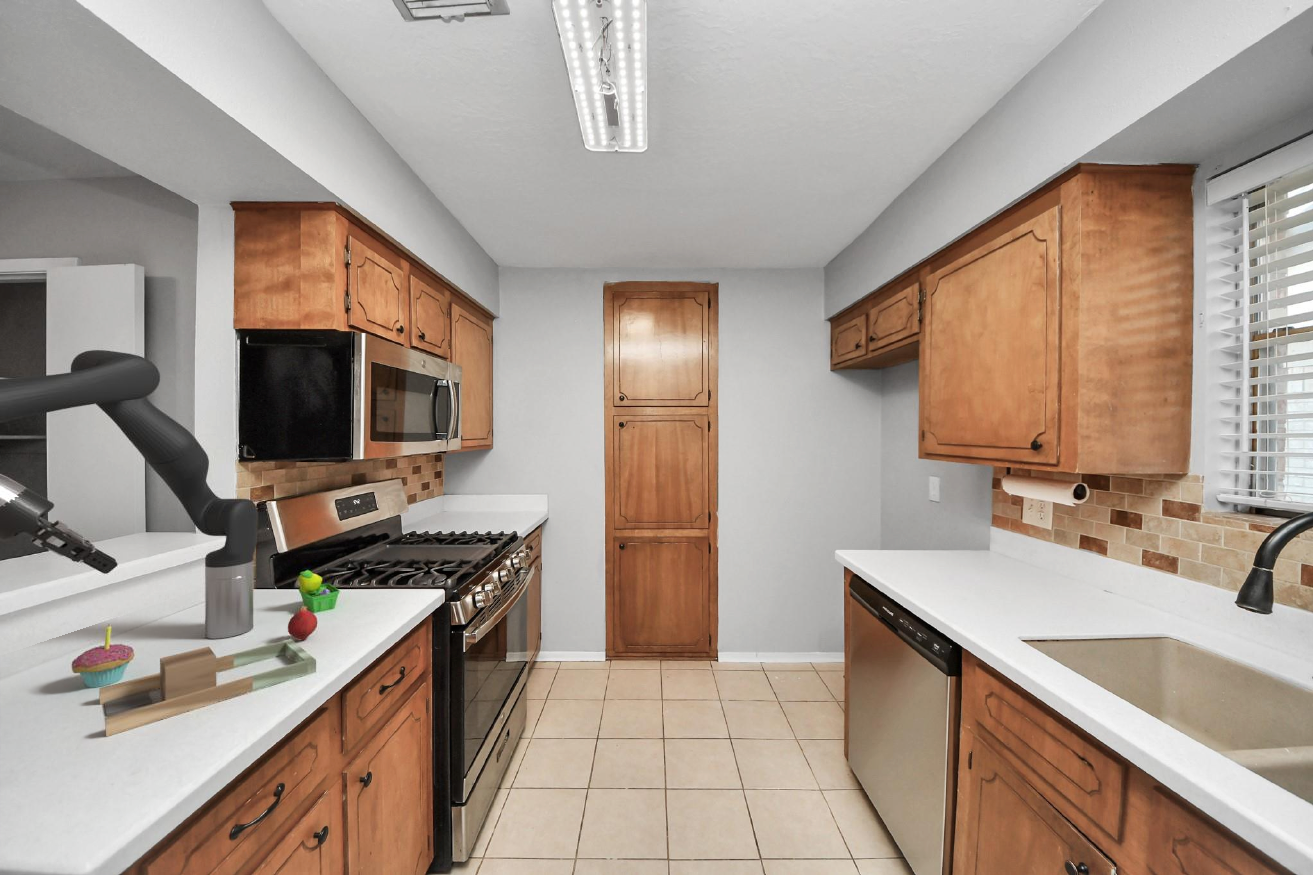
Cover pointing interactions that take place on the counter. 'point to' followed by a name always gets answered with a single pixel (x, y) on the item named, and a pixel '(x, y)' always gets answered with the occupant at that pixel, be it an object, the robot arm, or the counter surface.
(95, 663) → the cupcake
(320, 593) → the fruit basket
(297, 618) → the onion
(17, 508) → the robot arm
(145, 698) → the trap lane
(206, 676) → the walnut block
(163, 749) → the counter surface
